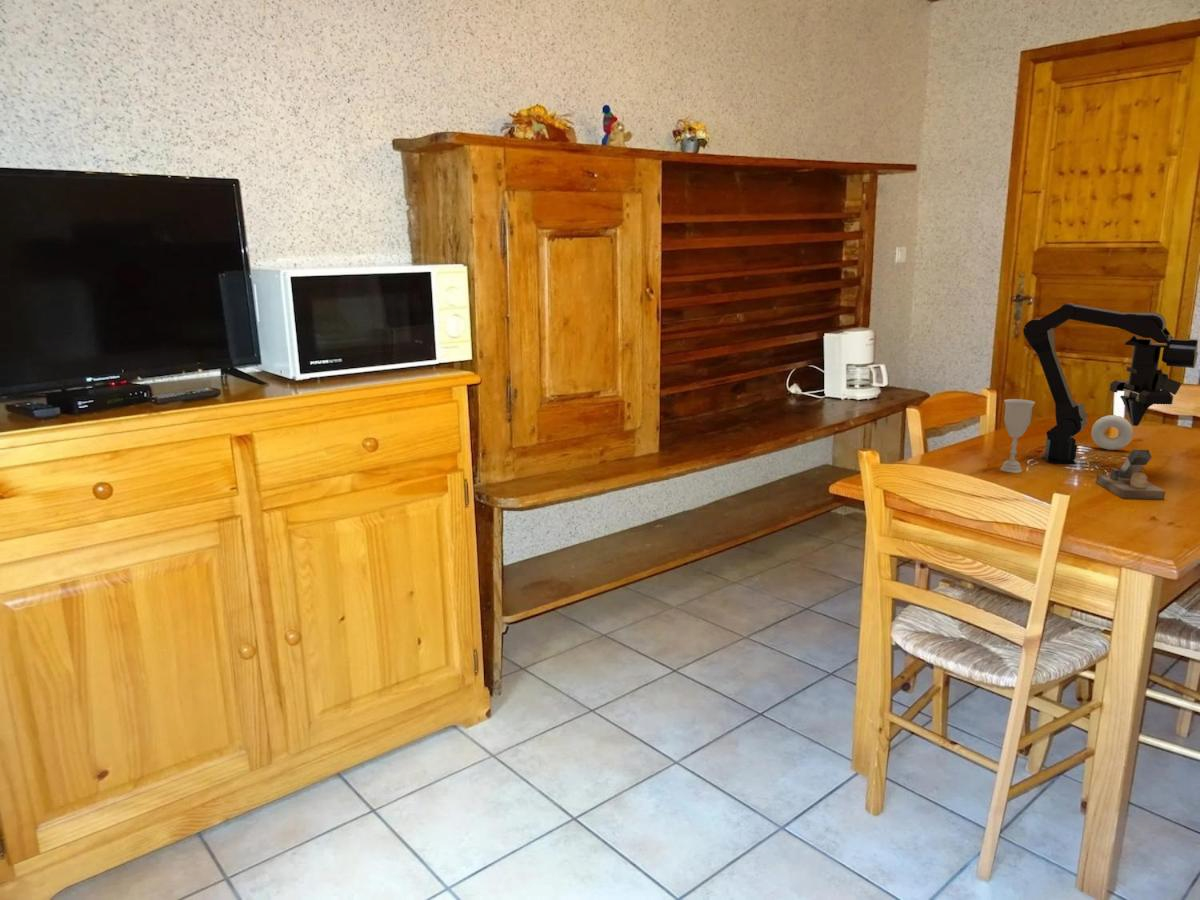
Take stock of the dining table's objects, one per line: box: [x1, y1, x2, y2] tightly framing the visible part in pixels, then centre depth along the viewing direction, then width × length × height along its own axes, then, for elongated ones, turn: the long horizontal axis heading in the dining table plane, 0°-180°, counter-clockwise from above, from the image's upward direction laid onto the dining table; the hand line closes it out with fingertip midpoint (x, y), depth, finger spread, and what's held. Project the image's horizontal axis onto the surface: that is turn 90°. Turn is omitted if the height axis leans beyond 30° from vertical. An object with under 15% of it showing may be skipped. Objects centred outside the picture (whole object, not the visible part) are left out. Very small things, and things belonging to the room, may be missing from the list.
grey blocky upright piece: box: [1119, 449, 1153, 479], centre depth 196 cm, size 2×3×9 cm
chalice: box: [999, 398, 1036, 474], centre depth 213 cm, size 7×7×18 cm
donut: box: [1091, 414, 1134, 451], centre depth 234 cm, size 10×4×10 cm, turn 59°
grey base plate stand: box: [1095, 468, 1166, 501], centre depth 197 cm, size 13×9×4 cm
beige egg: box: [1130, 471, 1148, 489], centre depth 193 cm, size 3×3×4 cm
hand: (1135, 425), depth 211 cm, fingers closed
